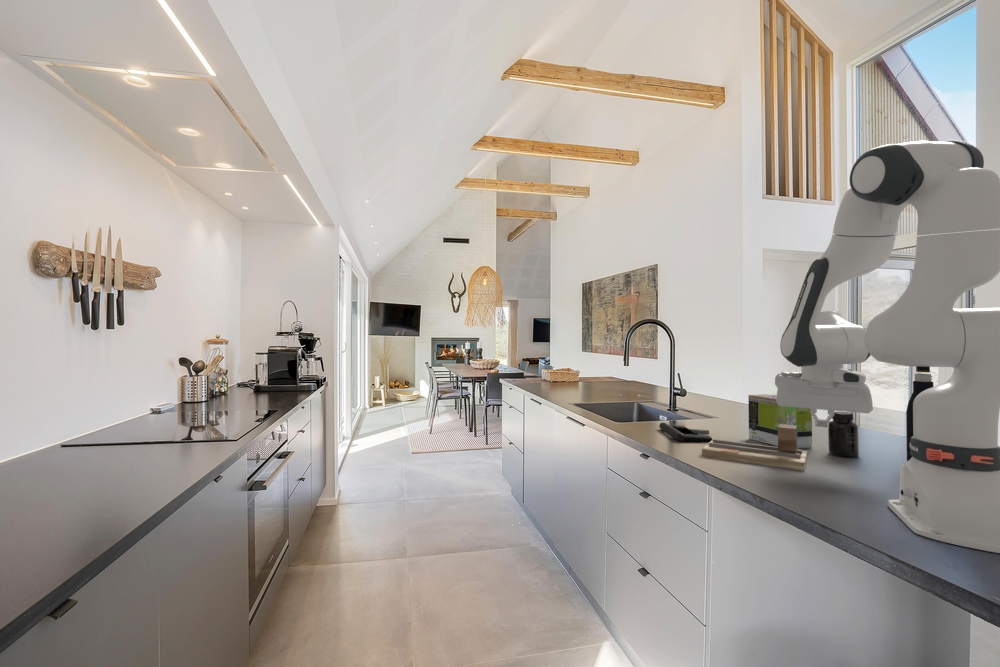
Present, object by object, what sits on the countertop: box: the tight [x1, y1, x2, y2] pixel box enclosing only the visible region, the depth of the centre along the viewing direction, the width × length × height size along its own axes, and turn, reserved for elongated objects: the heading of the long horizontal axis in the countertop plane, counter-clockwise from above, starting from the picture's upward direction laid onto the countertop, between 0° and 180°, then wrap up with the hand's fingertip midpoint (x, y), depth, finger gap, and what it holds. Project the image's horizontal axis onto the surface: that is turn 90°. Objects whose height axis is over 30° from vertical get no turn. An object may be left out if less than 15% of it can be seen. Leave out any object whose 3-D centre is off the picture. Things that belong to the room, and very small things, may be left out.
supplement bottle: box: [827, 411, 860, 459], centre depth 126 cm, size 7×7×12 cm
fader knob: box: [777, 424, 798, 453], centre depth 120 cm, size 5×4×7 cm
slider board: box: [701, 438, 808, 472], centre depth 125 cm, size 14×24×3 cm, turn 53°
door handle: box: [657, 422, 713, 443], centre depth 152 cm, size 3×20×16 cm
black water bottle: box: [905, 366, 935, 462], centre depth 112 cm, size 6×6×30 cm
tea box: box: [748, 393, 813, 449], centre depth 141 cm, size 15×10×15 cm
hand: (822, 426), depth 116 cm, fingers closed
